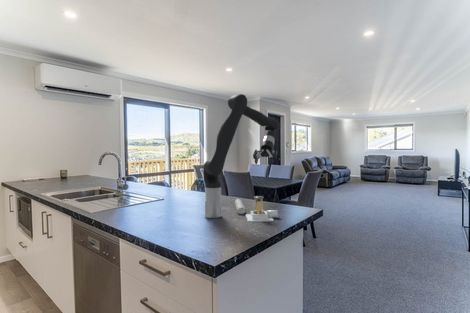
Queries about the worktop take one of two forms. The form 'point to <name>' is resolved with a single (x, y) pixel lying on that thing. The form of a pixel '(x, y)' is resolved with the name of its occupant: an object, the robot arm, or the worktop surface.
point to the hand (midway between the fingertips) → (262, 163)
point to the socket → (262, 216)
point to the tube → (239, 206)
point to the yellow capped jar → (258, 204)
